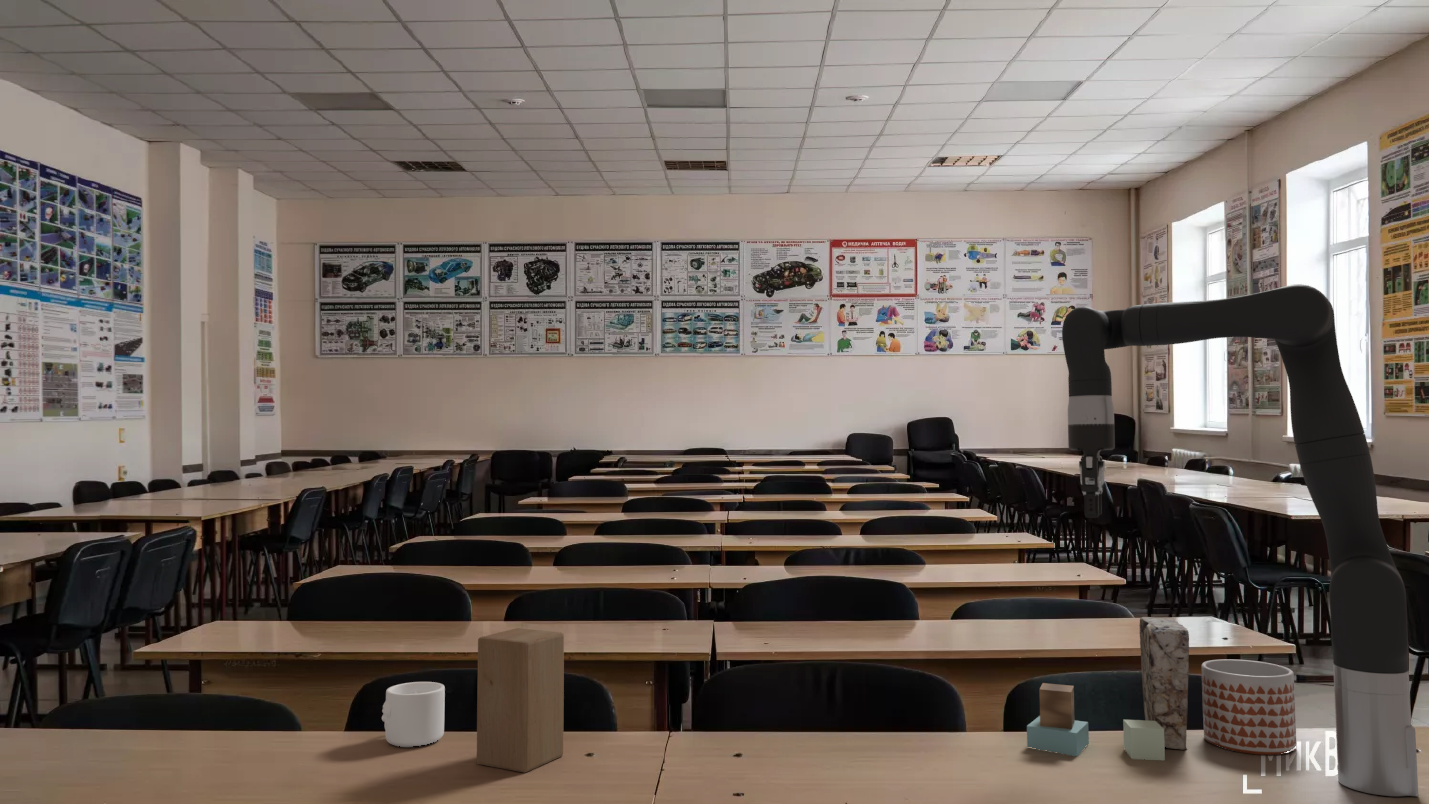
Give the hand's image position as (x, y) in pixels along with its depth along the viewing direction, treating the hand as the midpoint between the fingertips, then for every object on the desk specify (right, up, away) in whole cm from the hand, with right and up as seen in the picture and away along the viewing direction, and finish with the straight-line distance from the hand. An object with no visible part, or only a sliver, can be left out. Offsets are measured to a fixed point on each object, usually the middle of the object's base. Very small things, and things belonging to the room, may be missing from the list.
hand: (1093, 516), depth 167 cm
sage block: (+4, -38, -10) cm, 39 cm away
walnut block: (-8, -34, -5) cm, 35 cm away
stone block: (+12, -38, -1) cm, 40 cm away
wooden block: (-97, -38, -11) cm, 105 cm away
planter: (+25, -38, -4) cm, 46 cm away
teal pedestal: (-8, -38, -5) cm, 39 cm away
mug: (-118, -39, 0) cm, 124 cm away
